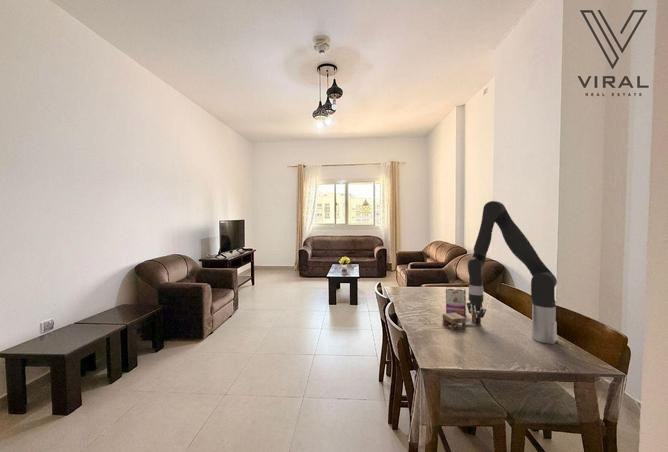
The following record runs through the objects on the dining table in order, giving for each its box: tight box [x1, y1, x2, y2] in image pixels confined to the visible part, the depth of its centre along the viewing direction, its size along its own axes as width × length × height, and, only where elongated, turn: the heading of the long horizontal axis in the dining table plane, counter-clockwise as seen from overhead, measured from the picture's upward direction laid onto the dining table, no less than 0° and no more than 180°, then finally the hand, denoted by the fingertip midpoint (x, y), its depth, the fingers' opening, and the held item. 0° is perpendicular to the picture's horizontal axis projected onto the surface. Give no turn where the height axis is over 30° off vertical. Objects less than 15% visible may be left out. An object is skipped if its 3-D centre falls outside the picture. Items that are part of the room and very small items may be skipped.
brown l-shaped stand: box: [455, 313, 482, 328], centre depth 161 cm, size 15×4×6 cm, turn 102°
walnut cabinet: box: [442, 313, 467, 331], centre depth 159 cm, size 8×9×6 cm
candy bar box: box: [445, 286, 467, 318], centre depth 178 cm, size 11×5×16 cm, turn 62°
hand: (476, 323), depth 162 cm, fingers closed on brown l-shaped stand, 2 cm apart
